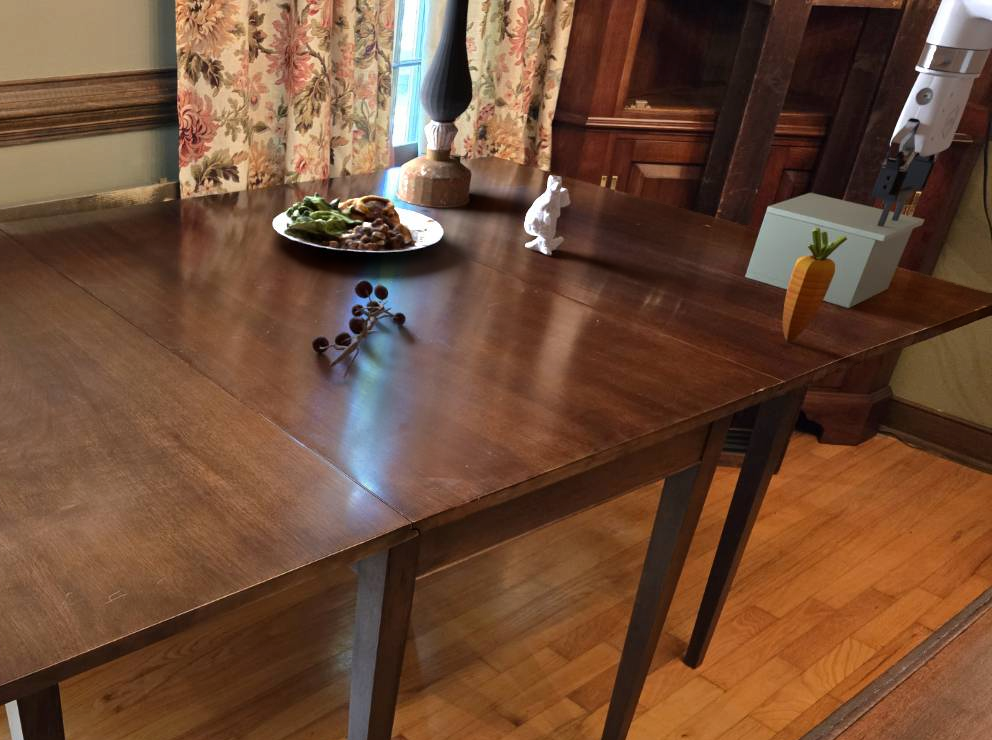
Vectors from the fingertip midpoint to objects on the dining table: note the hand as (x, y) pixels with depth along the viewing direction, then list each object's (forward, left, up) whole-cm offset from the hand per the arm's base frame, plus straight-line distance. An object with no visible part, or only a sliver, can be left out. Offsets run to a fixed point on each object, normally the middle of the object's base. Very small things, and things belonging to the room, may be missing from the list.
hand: (897, 193), depth 136 cm
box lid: (+6, 0, -5) cm, 8 cm away
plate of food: (+62, +45, -15) cm, 78 cm away
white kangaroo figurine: (+41, +23, -15) cm, 50 cm away
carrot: (-2, +27, -15) cm, 31 cm away
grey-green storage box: (+6, 0, -15) cm, 16 cm away
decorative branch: (+31, +75, -15) cm, 83 cm away
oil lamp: (+72, +15, -15) cm, 75 cm away
